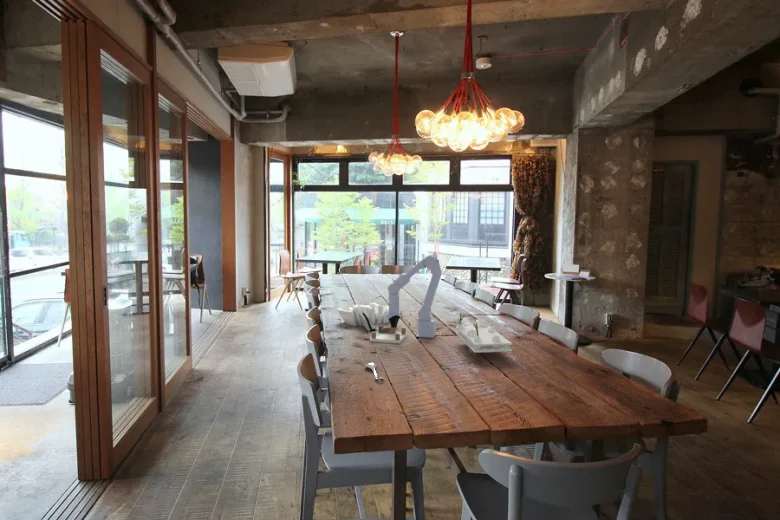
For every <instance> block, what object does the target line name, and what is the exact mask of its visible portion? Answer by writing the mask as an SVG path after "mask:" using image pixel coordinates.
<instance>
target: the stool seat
mask: <svg viewBox="0 0 780 520" xmlns="http://www.w3.org/2000/svg"><path fill="white" fill-rule="evenodd" d="M407 337H408V333H407V328H406V327H401V332H395V333H385V332H378V331H371V337H370V338H369V342H374V343H375V342H376V343H377V342H378V343H387V344H401V343H402V342H403V341H404V340H405V339H406V338H407Z"/></svg>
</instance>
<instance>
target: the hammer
mask: <svg viewBox="0 0 780 520" xmlns="http://www.w3.org/2000/svg"><path fill="white" fill-rule="evenodd" d="M396 331H397V328H396V327H391V326H385V325H378V331H377V332H385V333H395V332H396Z"/></svg>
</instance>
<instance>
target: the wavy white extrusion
mask: <svg viewBox="0 0 780 520" xmlns="http://www.w3.org/2000/svg"><path fill="white" fill-rule="evenodd" d="M336 310H337V313H338V314H339V315H340V317H341V318H342V320H343V321H344V324H346V325H348V326H354V327H358V326H359V327H362V326H363V324H362V321H361V319H360V316H359V314H360V313H363V312H366V313H367V314H368V316H369V317H370V319H371V322H372V324H373V325H374V326H375V325H376V324H377V325H380V324H383V325H384V324H388V323H389V322H390V321H389V319H386V315H387V312H389V305H380V304H378V303H377V302H369V303H368V305H366V304H365V305H364V304H353V305H352V307H347V310H344V309H342V308H340V307H339V308H338V307H337V308H336ZM363 327H364V326H363Z"/></svg>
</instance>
